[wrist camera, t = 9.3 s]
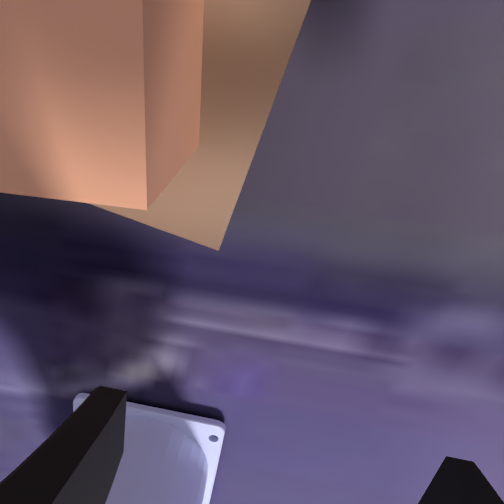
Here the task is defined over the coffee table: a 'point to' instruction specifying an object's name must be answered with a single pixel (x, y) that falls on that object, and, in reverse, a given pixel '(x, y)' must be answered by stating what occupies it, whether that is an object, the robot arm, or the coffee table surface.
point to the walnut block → (227, 115)
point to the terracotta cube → (98, 97)
